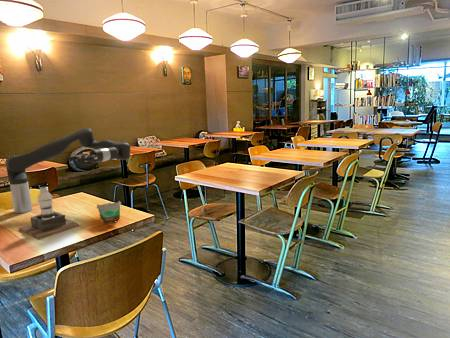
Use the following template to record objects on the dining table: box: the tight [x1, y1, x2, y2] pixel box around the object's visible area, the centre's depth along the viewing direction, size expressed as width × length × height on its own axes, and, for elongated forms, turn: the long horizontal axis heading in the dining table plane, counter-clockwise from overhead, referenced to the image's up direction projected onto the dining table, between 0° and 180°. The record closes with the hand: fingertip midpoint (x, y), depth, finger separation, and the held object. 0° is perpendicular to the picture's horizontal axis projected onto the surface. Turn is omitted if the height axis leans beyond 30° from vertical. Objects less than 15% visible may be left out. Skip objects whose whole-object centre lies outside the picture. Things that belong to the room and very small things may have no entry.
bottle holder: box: [18, 210, 80, 240], centre depth 174 cm, size 22×20×6 cm
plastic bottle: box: [37, 186, 55, 220], centre depth 173 cm, size 6×7×20 cm
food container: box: [96, 200, 122, 224], centre depth 180 cm, size 12×6×10 cm, turn 117°
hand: (73, 159), depth 184 cm, fingers open, 8 cm apart
